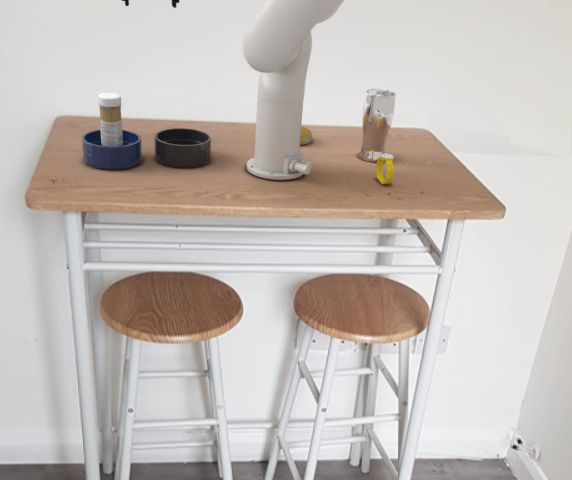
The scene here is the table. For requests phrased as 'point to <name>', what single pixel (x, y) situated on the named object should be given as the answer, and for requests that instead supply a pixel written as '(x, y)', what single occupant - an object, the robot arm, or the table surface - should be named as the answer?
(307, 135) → the bread roll
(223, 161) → the table surface
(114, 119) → the sprinkles bottle
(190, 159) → the charcoal bowl
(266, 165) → the robot arm
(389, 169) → the watch
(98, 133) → the navy bowl
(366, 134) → the beer glass
